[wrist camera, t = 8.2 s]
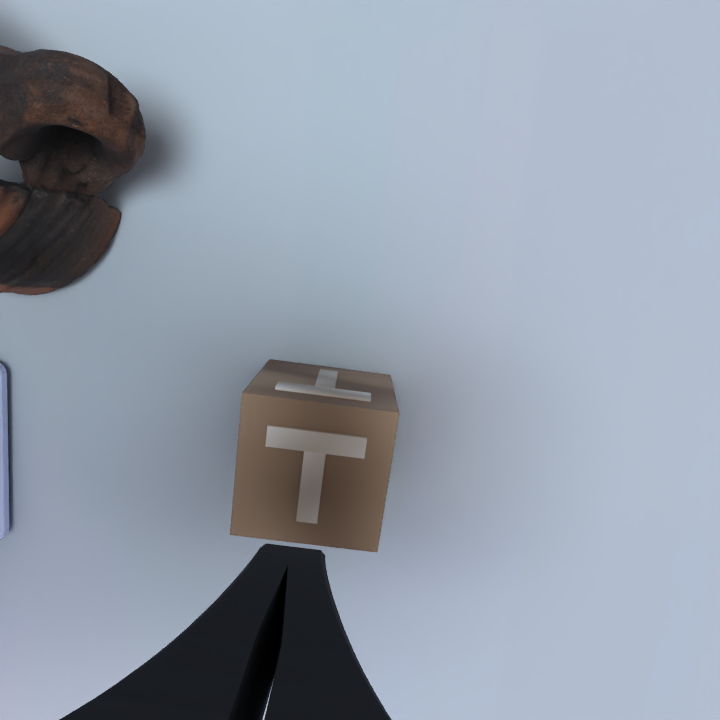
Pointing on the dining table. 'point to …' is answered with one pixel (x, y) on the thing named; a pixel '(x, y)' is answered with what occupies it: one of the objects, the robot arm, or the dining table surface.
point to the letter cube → (314, 455)
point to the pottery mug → (60, 165)
